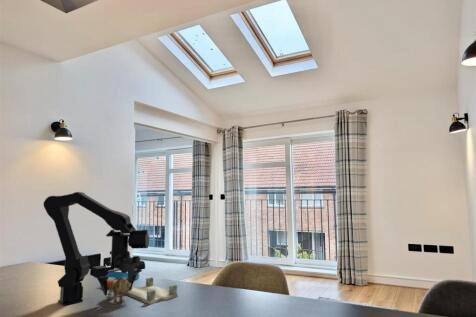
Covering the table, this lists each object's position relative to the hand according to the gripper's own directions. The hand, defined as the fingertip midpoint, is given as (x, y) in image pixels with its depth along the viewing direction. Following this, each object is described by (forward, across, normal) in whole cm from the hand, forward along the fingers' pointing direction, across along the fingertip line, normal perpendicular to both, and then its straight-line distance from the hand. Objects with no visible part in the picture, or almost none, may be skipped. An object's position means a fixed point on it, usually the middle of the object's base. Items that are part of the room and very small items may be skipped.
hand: (117, 292), depth 116 cm
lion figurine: (+3, 0, +1) cm, 3 cm away
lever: (+4, +12, +22) cm, 26 cm away
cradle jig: (+3, +12, -2) cm, 13 cm away
